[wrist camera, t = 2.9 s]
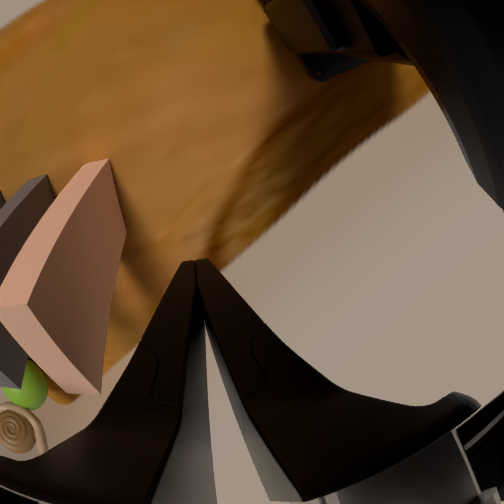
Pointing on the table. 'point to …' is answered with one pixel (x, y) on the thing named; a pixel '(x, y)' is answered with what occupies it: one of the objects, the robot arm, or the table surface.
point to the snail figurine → (24, 413)
